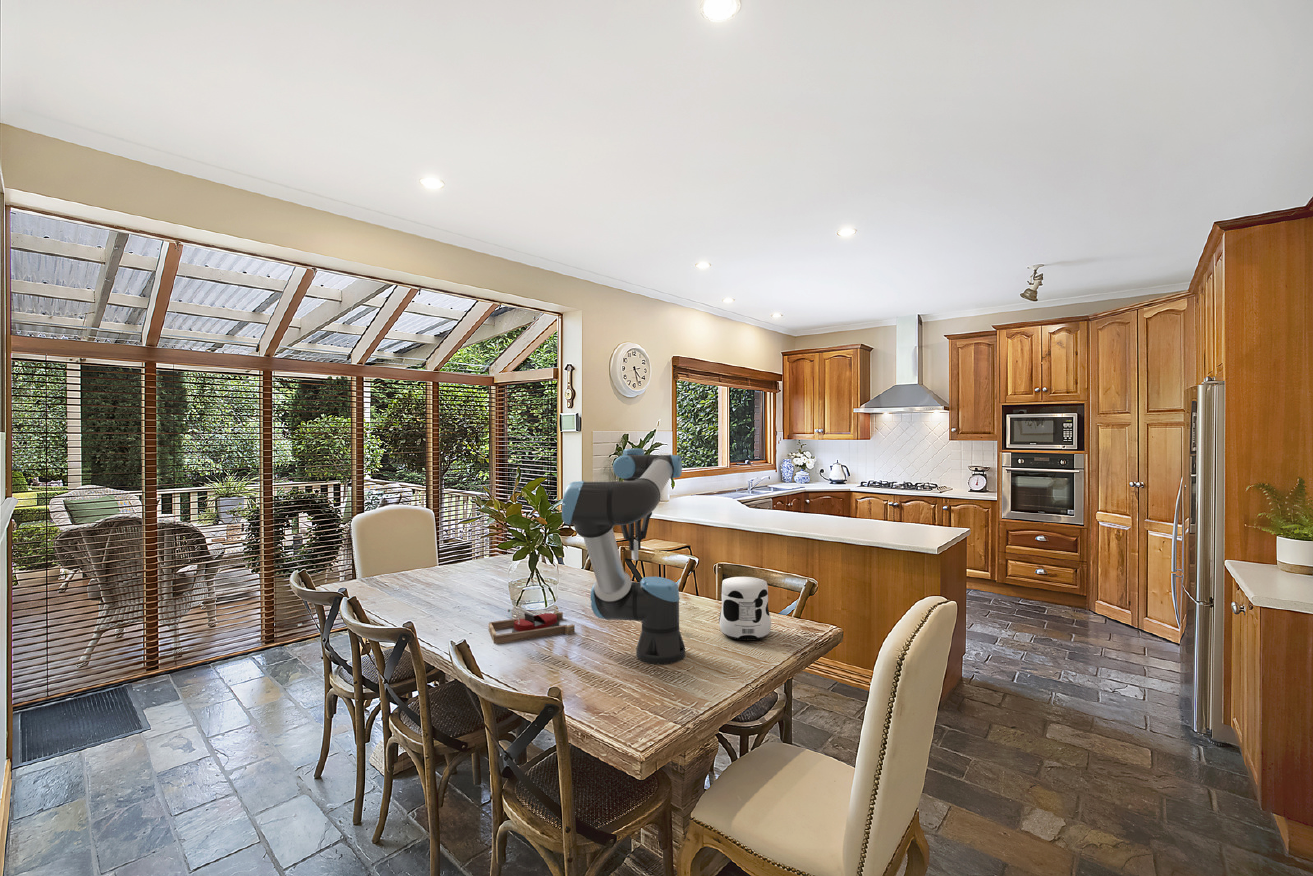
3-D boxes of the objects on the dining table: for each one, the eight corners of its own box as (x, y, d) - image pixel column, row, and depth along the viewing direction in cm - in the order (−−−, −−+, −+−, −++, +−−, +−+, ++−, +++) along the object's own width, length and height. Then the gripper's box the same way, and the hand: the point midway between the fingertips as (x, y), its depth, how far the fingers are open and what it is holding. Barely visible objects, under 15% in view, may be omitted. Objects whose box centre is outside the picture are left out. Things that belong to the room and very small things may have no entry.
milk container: (745, 623, 206) (744, 573, 206) (782, 636, 192) (781, 583, 192) (708, 633, 196) (708, 581, 196) (745, 648, 182) (744, 592, 182)
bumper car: (564, 627, 205) (564, 599, 205) (517, 643, 190) (517, 612, 190) (547, 621, 212) (547, 594, 212) (500, 636, 197) (500, 607, 197)
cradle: (575, 633, 198) (575, 626, 198) (495, 646, 187) (495, 638, 187) (561, 617, 215) (561, 611, 215) (487, 628, 205) (487, 621, 205)
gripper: (647, 490, 208) (648, 555, 208) (613, 492, 203) (613, 559, 203) (655, 492, 201) (656, 559, 201) (620, 494, 196) (621, 563, 196)
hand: (635, 559), depth 202 cm, fingers closed
